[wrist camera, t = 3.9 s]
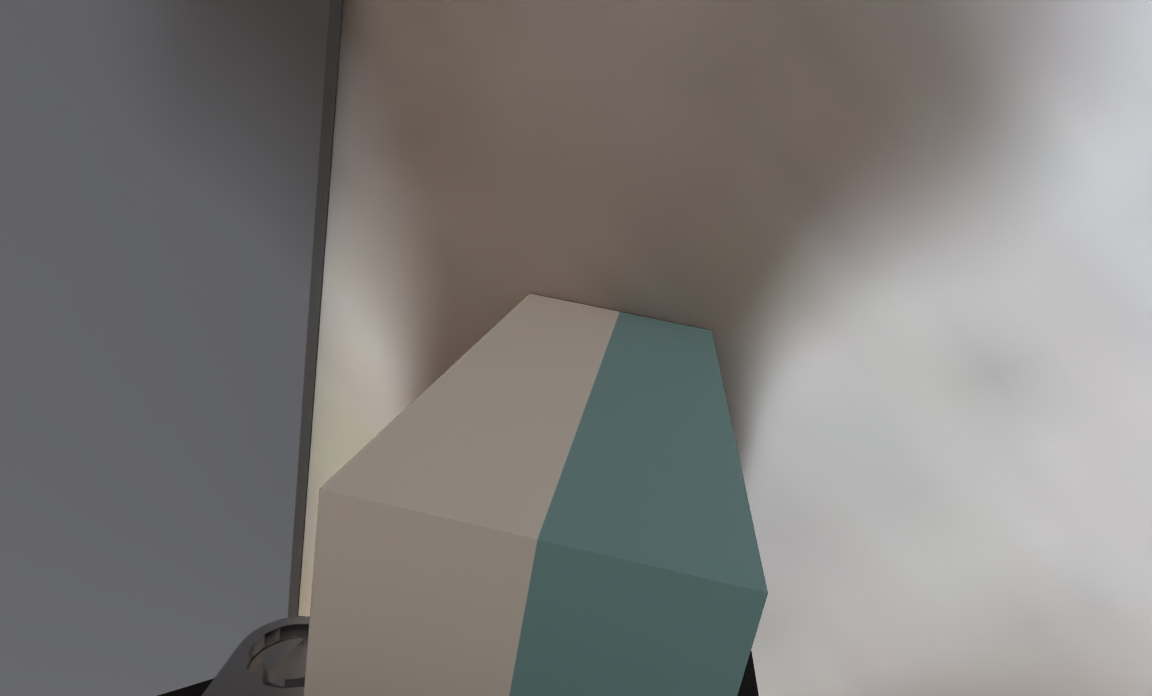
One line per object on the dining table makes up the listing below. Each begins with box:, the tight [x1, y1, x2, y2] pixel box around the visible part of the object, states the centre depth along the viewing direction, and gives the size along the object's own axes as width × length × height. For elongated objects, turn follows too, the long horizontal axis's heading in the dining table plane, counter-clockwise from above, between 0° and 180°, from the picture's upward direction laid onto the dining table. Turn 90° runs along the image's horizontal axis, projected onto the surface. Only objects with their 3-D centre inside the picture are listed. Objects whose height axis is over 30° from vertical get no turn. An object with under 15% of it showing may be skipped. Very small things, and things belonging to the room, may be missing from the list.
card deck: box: [304, 294, 768, 696], centre depth 9 cm, size 9×3×7 cm, turn 170°
